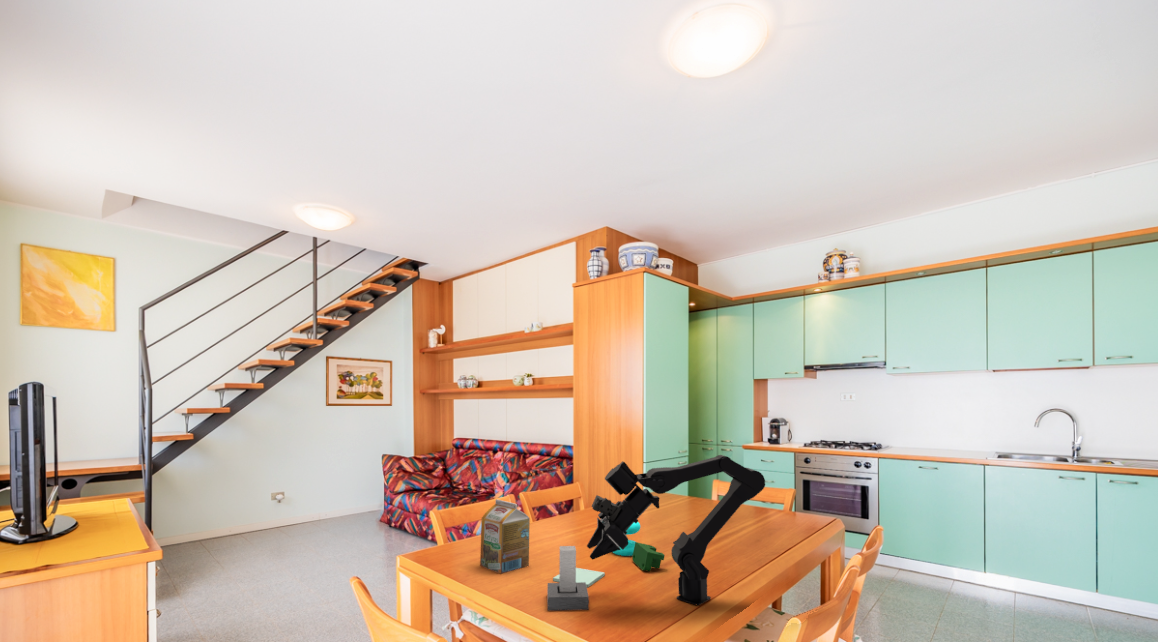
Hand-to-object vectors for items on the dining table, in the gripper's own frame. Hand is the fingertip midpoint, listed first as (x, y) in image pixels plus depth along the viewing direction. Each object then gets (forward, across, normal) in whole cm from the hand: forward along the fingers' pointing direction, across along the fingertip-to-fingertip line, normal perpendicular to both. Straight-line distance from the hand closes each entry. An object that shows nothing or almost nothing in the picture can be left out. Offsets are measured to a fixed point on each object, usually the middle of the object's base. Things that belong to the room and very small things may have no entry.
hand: (589, 552), depth 135 cm
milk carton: (+25, -30, -8) cm, 40 cm away
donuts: (-3, -42, +20) cm, 46 cm away
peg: (+12, 0, +4) cm, 13 cm away
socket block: (+12, 0, +4) cm, 13 cm away
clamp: (-6, -27, +23) cm, 36 cm away
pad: (+9, -18, +7) cm, 21 cm away
